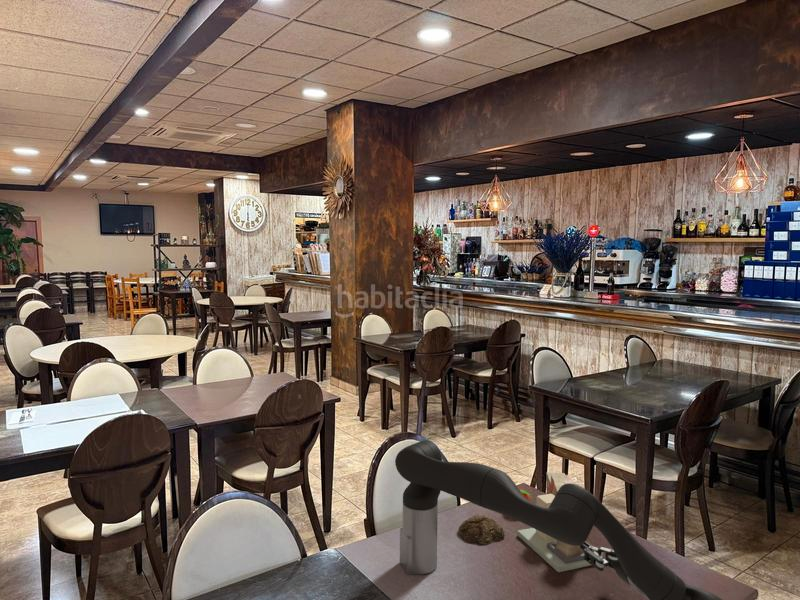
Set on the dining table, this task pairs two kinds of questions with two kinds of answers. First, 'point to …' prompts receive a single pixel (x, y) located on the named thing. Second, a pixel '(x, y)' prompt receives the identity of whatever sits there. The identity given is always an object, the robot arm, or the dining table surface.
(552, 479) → the stack of blocks
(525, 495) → the clementine
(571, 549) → the maple pillar
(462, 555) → the dining table surface
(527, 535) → the baseplate
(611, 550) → the robot arm
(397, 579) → the dining table surface
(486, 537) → the bread roll
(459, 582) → the dining table surface
